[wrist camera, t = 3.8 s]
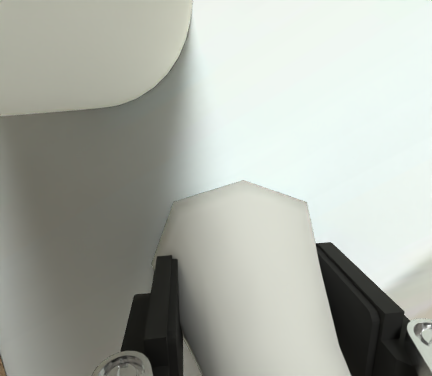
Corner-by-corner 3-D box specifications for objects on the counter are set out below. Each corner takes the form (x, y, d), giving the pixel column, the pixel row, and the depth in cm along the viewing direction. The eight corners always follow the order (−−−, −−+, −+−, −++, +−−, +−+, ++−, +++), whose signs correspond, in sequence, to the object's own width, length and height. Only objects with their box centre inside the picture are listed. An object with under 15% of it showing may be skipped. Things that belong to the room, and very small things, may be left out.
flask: (150, 177, 11) (-14, 564, 2) (327, 179, 12) (838, 452, 3) (153, 331, 13) (82, 897, 4) (305, 324, 14) (556, 774, 5)
